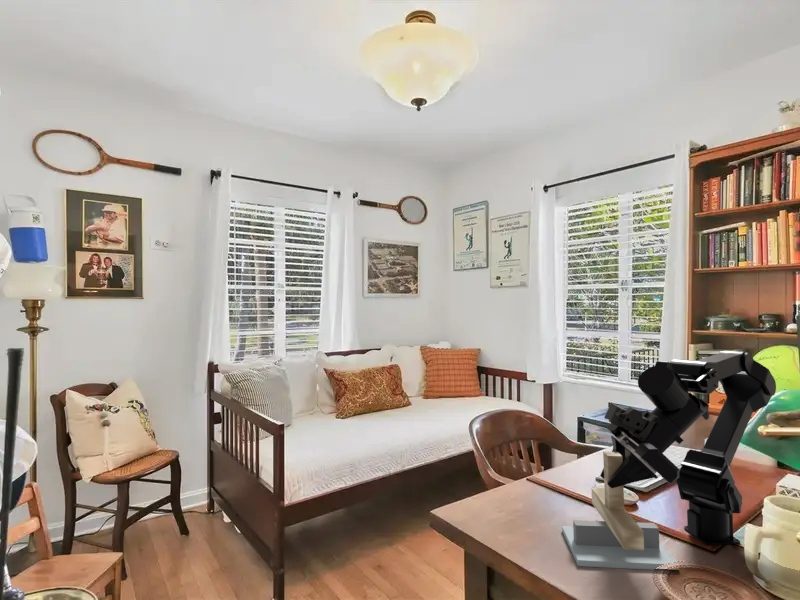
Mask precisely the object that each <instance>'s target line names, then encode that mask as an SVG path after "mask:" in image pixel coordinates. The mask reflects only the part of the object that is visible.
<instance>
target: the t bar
mask: <svg viewBox="0 0 800 600" xmlns="http://www.w3.org/2000/svg"><path fill="white" fill-rule="evenodd" d="M602 453H603V454H602V455H603V468H604V479H603V482H604V483H603V484H604V487H591V504H592V506H593V507H594V509H596V512H598V514H599V515H600V516H601V519H602V521H605V522H606V524H607V525H608V527H609V528H610V530H611V531H612V532H613V534H614V535H615V537H616V538H617V540H618V541H619V542H620V544H621V545H622V547H623V548H624V549H627V550H644V535H643V530H642V529H641V528H640V527H639V525H638V524H637V523H636V521H635V520H634V518H633V517H632V516H631V515H630V513H628V511H627V510H626V509H625V496H624V495H625V491H624V489H625V486H624V485H622V486H619V487H615V488H611V487H610V486H608V484H607V482H608V481H609V480H610V478H611V477H612V475H613V474H614V473H615V472H616V470H617V469H618V468H619V467H620V465H621V464H622V463H623V459H622V455H621V454H619V453H618V452H612V451H602Z"/></svg>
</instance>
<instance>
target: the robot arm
mask: <svg viewBox="0 0 800 600" xmlns="http://www.w3.org/2000/svg"><path fill="white" fill-rule="evenodd" d="M719 383H720V385H722V386H721V387H722V389H723V393H724V394H725V396H726V397H725V401H724V402H723V405H722V407H721V409H720V411H719V413H718V416H717V418H716V420H715V421H714V424H713V426H712V429H711V430H710V433H709V434H708V437H707V438H706V441H705V443H704V445H703V447H702V449H701V450H695V449H689V450H688V451H687V452H686V454H685V457H684V459H683V461H682V462H680V467H678V466H677V465H676V464H675V463H673V462H672V460H670V458H668V457H667V456H666V455H665V454H664V452H666V450H667V449H669V448H670V447H671V446H672V445H673V444H674V443H676V444H678V445H680V444H682V443H683V442H684V439H683V438H682V437H681V436H682V435H683V434H684V433H685V432H686V431H687V430H688V429H689V428H690V427H692V426H693V424H695V423H696V422H697V421H698V420H699V419H700V418H702V419H704V420H708V419H710V412H709V407H710V405H709V404H708V403H707V402H705V401H704V400H702V399H700V398H697V396H696V395H694V394H701V395H702V394H703V395H710V394H712V393H713V392H715V391H716V390H717V389H718V388H720V386H719ZM637 386H638V388H639V389H640V391H641V392H642V393H643V394H644V395H645V396H646V398H648V400H649V401H650V402H651V403H652V404H653V406H655V408H654V409H653V410H652V411H649V410H643V411H640V410H639V409H635V408H634V407H632V406H630V407H628V408H626V407H623V406H620V405H618V404H617V403H613V402H611V403H610V404H609V406H608V408H607V410H606V413H605V415H604V417H603V418H604V420H605V419H606V420H608V422H609V423H610V424H609V425H608V426H606V429H607V430H608V431H609V432H610V433H611V434H612V435H611V436H610V438H611V441H612V450H611V452H618V453H619V454H621V455H622V459H623V463H622V464H621V465H620V467H619V468H618V469H617V470H616V472H615V473H614V474H613V475H612V477H611V478H610V480H609V481H608V482H607V484H608V486H610V487H611V488H615V487H619V486H622V485H623V486H626V485H629V484H633V483H636V482H640V481H645V480H649V479H650V480H651V479H655V480H656V479H658V478H659V476H658V475H656V473H658V474H659V475H660V477H661V478H663V480H664V481H665V482H667V483H669V485H673V484H674V483H675V482H676V484H677V489H678V492H679V497H680V500H684V501H688V508H687V510H686V514H687V515H686V518H687V522H686V523H687V525H684V526H683V529H684V530H685V531H686V532H688V533H689V534H690V535H691V536H693V537H694V538H695V539H697V540H698V541H700V542H701V543H702V544H705V545H706V546H726V545H741V540H739V539H738V538H737V537H735V536H734V516H733V514H741V513H742V505H743V496H742V494H741V493H740V491H739V489H738V488H737V486H736V483H735V482H736V481H735V479H734V476H733V473H732V470H731V468H730V467H731V464H732V462H733V460H734V457H735V454H736V452H737V450H738V448H739V445H740V443H741V440H742V438H743V436H744V434H745V431H746V429H747V427H748V425H749V422H750V419H751V417H752V414H753V413H754V412H755V411H759V410H760V409H763V408H765V407H766V406H768V403H769V402H770V401H771V398H772V397H773V396H775V393H776V391H777V384H776V380H775V377H774V376H773V375H772V373H771V371H770V369H769V368H767V367H766V366H764V365H763V364H761V363H760V362H758V361H757V360H755V359H754V358H753V355H752V354H751V353H748V352H746V351H743V350H742V351H740V350H739V351H738V350H725V349H724V350H723V351H719V352H718V353H716V354H713V355H710V356H707V357H704V358H701V359H697V360H694V359H693V360H691V359H672V360H670V361H666V360H665V361H664V360H656V362H655V365H653V366H650V367H648V368H646V369H645V370H643V371H642V372H641V374H639V376H638V377H637ZM692 393H693V394H692ZM599 476H600V477H601V478H602V480H604V467H603V468H602V470H601V472H600V475H599Z"/></svg>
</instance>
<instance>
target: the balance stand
mask: <svg viewBox="0 0 800 600" xmlns="http://www.w3.org/2000/svg"><path fill="white" fill-rule="evenodd" d="M635 522H636V521H635ZM572 523H573V524H572V525H573V526H571V525H570V526H568V525H567V526H566V525H562V526H561V531H562V534H563V536H564V538H565V541H566V543H567V544H568V547H569V549H570V551H571V554H572V556H573V558H574V561H575V563H576V565H577V567H586V568H587V567H589V568H610V569H611V568H612V569H629V570H633V569H634V570H650V571H651V570H652V571H653V570H654V569H656V568H657V567H659V566H661V565H663V564H667V563H673V562H677V560H676V559H675V558H674V556H672V554H671V553H670V552H669V551H668V549H666V547H665V545H663V544H662V543H661V541H660V528H659V526H658V525H657V524H655V523H654V522H638V521H637V522H636V523H637V524H638V525H639V527H640V528H641V529H642V530H643V535H644V550H627V549H624V548H623V547H622V545H621V544H620V542H619V541H618V540H617V538H616V537H615V535H614V534H613V532H612V531H611V530H610V528H609V527H608V525H607V524H606V522H605V521H604V520H581V519H580V520H578V519H577V520H576V519H572Z"/></svg>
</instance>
